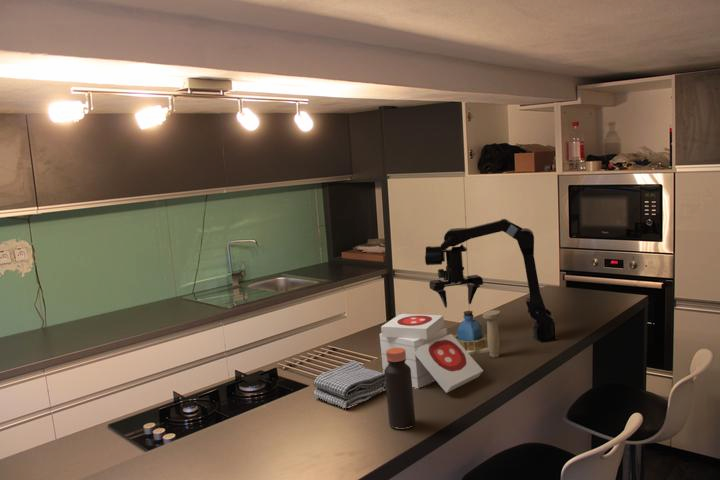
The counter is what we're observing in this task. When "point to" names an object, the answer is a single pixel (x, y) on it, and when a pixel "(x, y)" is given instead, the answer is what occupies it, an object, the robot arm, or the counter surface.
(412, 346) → the pizza boxes
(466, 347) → the gear board
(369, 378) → the towel
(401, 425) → the vinegar
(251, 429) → the counter surface
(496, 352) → the handle
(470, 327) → the perfume bottle
